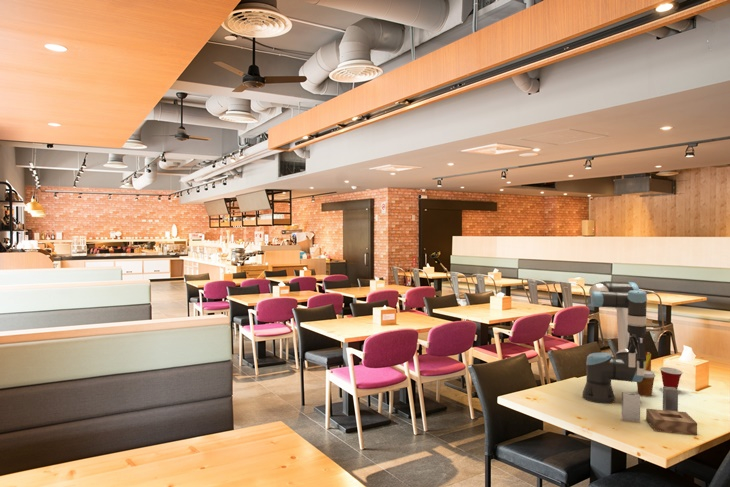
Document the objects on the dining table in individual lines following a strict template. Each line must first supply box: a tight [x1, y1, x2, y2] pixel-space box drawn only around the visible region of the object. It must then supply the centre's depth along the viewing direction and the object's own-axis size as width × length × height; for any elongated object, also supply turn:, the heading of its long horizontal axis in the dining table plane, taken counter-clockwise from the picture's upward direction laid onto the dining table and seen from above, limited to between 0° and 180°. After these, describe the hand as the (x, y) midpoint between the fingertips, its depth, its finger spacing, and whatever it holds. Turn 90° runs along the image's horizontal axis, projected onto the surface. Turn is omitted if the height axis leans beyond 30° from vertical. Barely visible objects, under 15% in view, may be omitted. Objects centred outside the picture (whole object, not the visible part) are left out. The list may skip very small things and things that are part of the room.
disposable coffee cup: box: [636, 370, 656, 397], centre depth 266 cm, size 10×10×12 cm
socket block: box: [645, 408, 698, 436], centre depth 220 cm, size 16×14×5 cm
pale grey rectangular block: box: [621, 391, 641, 423], centre depth 228 cm, size 7×3×12 cm, turn 74°
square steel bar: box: [662, 386, 679, 411], centre depth 237 cm, size 5×5×12 cm
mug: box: [645, 351, 652, 371], centre depth 309 cm, size 10×14×12 cm
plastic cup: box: [659, 366, 684, 390], centre depth 271 cm, size 11×11×12 cm
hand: (636, 371), depth 227 cm, fingers open, 13 cm apart
